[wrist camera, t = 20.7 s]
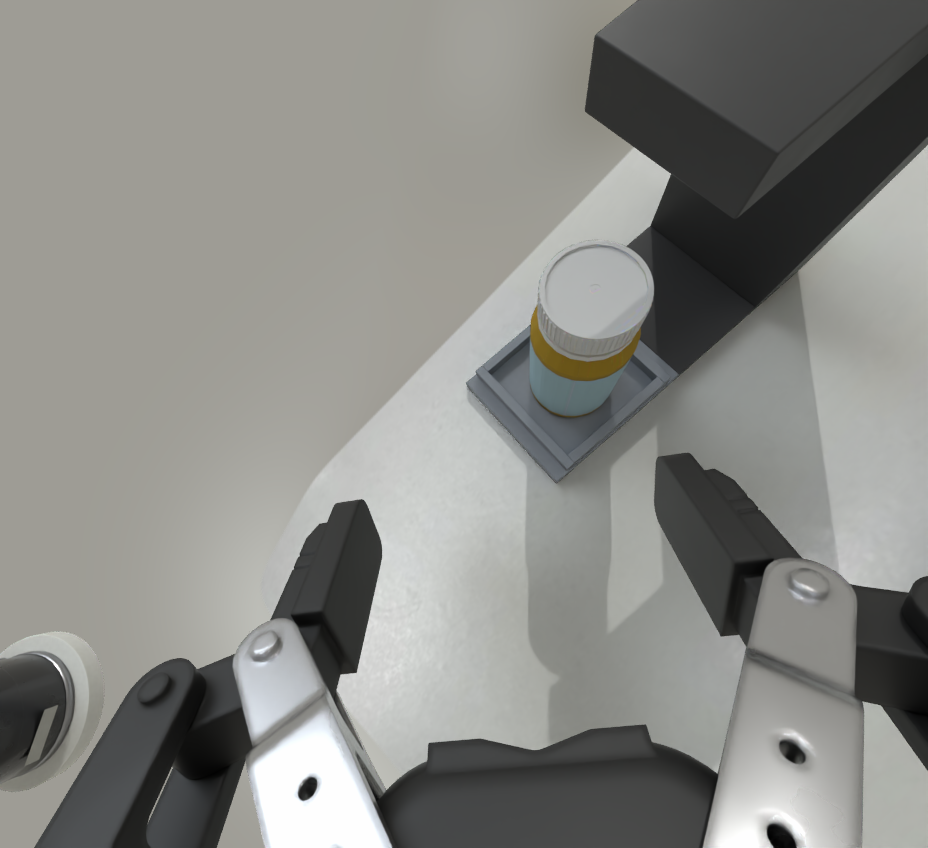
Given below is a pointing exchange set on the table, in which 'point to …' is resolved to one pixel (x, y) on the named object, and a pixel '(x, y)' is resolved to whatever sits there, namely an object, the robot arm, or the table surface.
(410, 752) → the table surface
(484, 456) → the table surface
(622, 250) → the bottle
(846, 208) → the coffee maker
